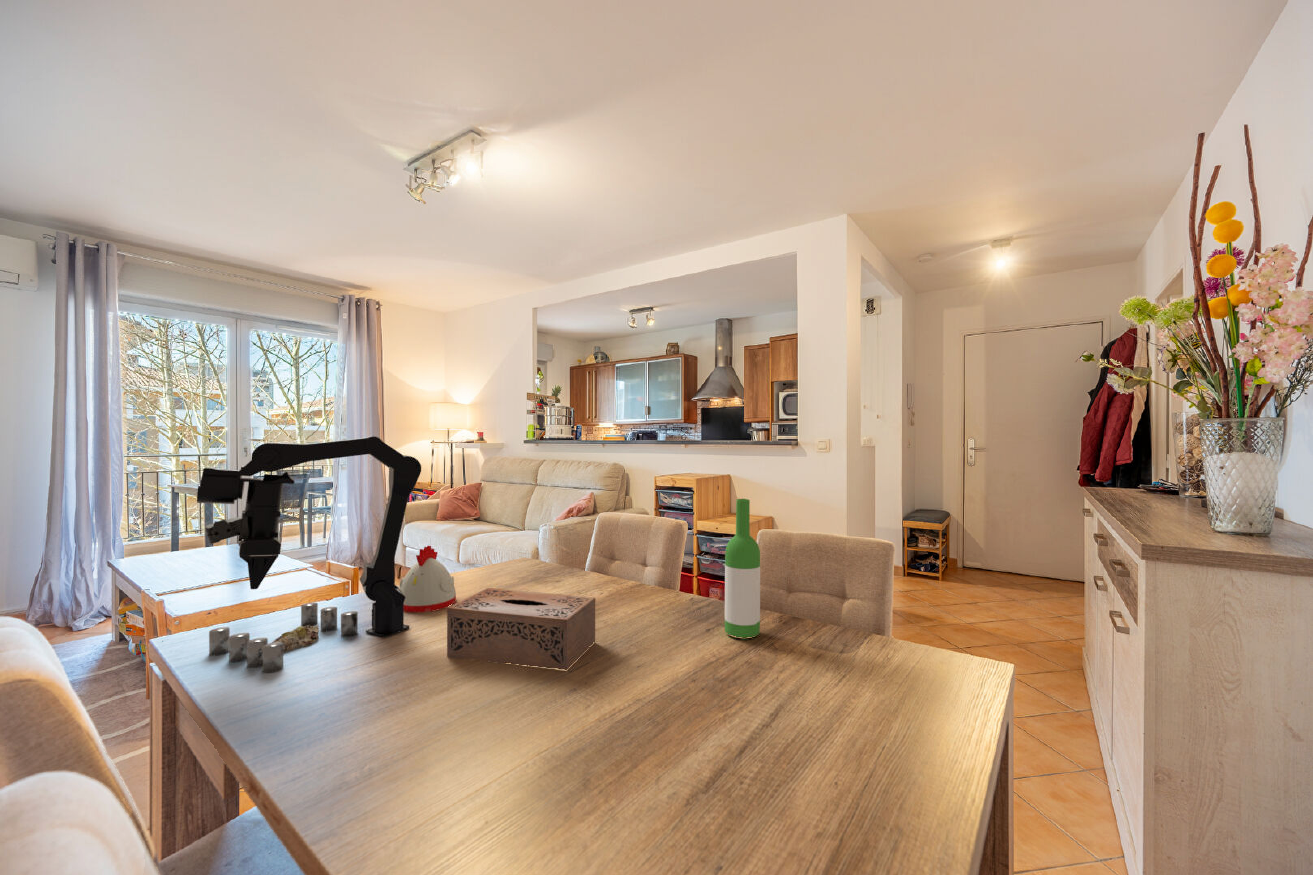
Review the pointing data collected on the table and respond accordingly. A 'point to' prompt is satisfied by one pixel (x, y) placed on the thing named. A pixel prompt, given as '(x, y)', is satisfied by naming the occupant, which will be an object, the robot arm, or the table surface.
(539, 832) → the table surface
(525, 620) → the tissue box cover
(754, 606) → the wine bottle
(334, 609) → the spacer posts
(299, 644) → the mineral rock
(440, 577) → the kitchen timer
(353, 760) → the table surface
